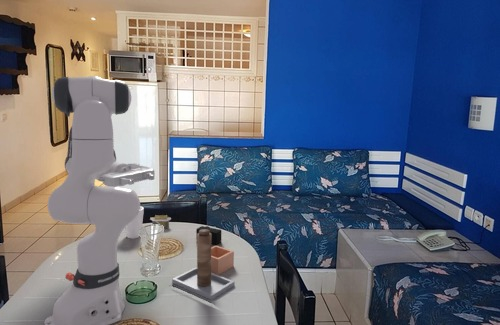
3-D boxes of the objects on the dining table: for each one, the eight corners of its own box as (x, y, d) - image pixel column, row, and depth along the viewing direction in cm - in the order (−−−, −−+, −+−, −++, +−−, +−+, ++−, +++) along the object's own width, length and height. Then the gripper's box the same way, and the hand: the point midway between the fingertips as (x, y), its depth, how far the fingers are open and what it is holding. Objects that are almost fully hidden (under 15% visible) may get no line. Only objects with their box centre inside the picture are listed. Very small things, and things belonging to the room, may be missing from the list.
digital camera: (223, 243, 173) (223, 228, 172) (216, 248, 169) (217, 232, 167) (203, 239, 178) (202, 224, 176) (196, 243, 173) (196, 228, 172)
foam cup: (129, 231, 185) (128, 205, 183) (147, 232, 184) (146, 206, 182) (119, 238, 176) (118, 211, 174) (139, 240, 175) (138, 212, 173)
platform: (177, 233, 186) (177, 219, 185) (139, 233, 185) (138, 219, 184) (180, 224, 198) (180, 212, 196) (144, 224, 197) (144, 211, 195)
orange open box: (218, 277, 143) (218, 259, 141) (200, 270, 148) (200, 252, 146) (233, 268, 150) (233, 251, 148) (215, 262, 155) (215, 245, 154)
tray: (211, 302, 126) (211, 295, 125) (172, 285, 136) (172, 278, 135) (234, 288, 135) (234, 281, 135) (196, 273, 145) (196, 266, 145)
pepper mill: (204, 288, 132) (204, 234, 129) (194, 284, 135) (194, 231, 132) (214, 283, 136) (214, 230, 133) (203, 278, 139) (203, 227, 135)
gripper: (95, 170, 143) (118, 176, 135) (140, 162, 159) (163, 167, 151) (95, 187, 144) (119, 194, 136) (140, 177, 160) (164, 183, 152)
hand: (142, 179), depth 144 cm, fingers open, 8 cm apart
